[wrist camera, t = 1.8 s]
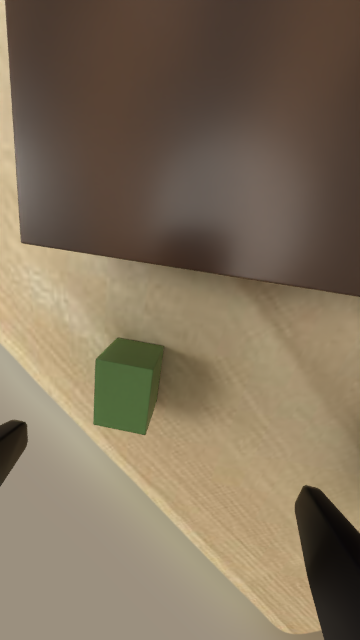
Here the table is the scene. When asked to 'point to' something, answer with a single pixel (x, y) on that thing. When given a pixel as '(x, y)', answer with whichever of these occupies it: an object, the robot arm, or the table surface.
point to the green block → (127, 385)
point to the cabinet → (192, 134)
